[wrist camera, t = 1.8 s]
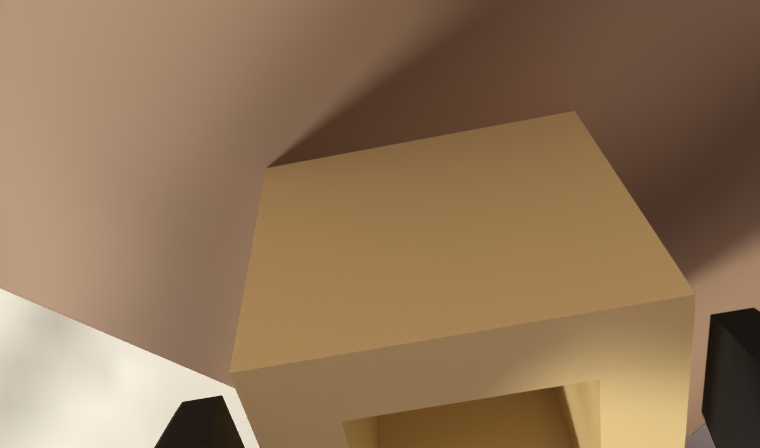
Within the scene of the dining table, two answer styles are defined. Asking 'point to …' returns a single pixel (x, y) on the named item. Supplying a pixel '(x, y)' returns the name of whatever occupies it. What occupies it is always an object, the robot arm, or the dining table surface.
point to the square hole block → (462, 300)
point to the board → (345, 135)
